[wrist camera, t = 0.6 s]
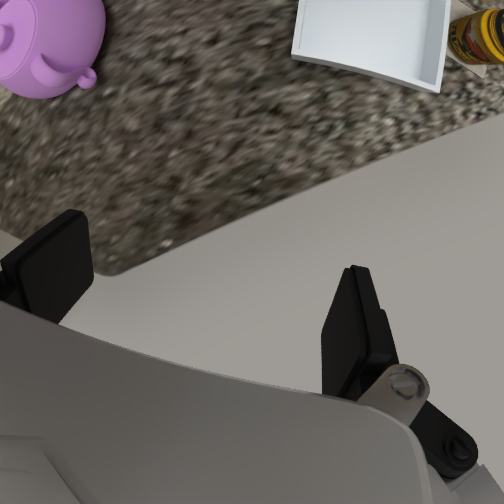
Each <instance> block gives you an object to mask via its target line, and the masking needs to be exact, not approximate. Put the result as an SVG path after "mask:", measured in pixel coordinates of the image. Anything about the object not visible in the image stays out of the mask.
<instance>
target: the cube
mask: <svg viewBox="0 0 504 504" xmlns="http://www.w3.org/2000/svg"><path fill="white" fill-rule="evenodd" d="M481 1H483V2H485V3H487V4H488V3H491V2H494V1H498V0H481Z"/></svg>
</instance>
